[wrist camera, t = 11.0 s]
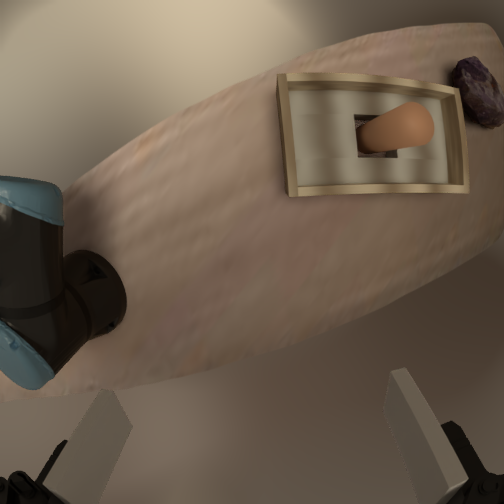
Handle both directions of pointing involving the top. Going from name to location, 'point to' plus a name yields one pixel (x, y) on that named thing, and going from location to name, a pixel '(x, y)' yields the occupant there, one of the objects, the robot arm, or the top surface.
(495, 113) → the rock
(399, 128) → the peg
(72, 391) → the top surface
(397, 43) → the top surface
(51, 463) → the robot arm
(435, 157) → the box
